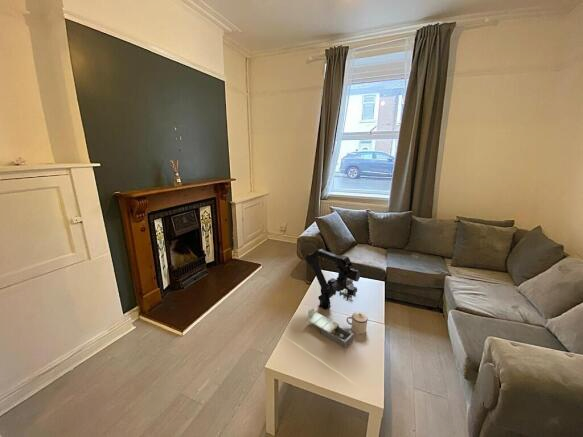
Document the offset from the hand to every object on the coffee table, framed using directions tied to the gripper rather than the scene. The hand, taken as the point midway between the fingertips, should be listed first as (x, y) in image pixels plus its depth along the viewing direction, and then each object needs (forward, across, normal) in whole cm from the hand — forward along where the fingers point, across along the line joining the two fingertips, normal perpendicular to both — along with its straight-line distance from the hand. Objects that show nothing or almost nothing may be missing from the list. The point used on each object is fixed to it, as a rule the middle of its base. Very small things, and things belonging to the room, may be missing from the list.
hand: (340, 297), depth 160 cm
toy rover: (+13, -11, +29) cm, 34 cm away
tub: (+12, +10, -20) cm, 25 cm away
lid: (+8, 0, -20) cm, 21 cm away
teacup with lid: (+12, +15, -6) cm, 20 cm away
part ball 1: (+11, +7, -20) cm, 24 cm away
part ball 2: (+11, +13, -20) cm, 26 cm away
